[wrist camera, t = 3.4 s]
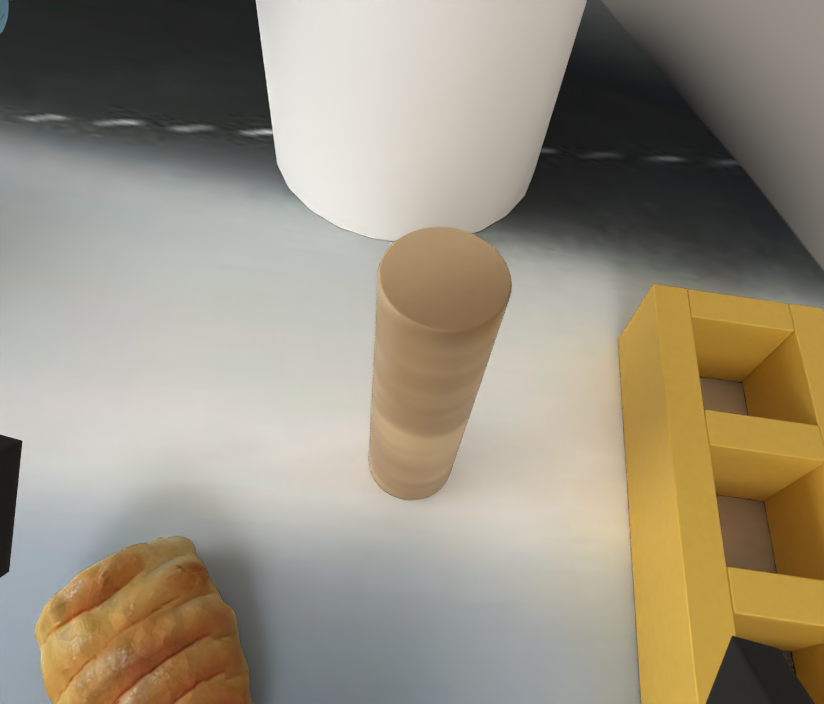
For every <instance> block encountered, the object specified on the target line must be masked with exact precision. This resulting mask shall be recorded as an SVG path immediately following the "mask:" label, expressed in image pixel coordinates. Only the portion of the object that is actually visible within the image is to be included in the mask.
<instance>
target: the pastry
mask: <svg viewBox="0 0 824 704" xmlns="http://www.w3.org/2000/svg"><path fill="white" fill-rule="evenodd" d="M35 637H36V639H37V641H38V643H39V647H40V652H41V661H40V665H41V671H42V675H43V681H44V684H45V689H46V693H47V695H48V696H49V698H50V699H51V701H52V702H53V704H252V699H251V695H250V672H249V668H248V665H247V661H246V658H245V655H244V653H243V651H242V648H241V644H240V640H239V635H238V620H237V616H236V614H235V612H234V611H233V609H232V608H231V607H230V606H228V605H227V604H226V603H225V602H224V601H223V600H222V599H221V597H220V594H219V592H218V590H217V588H216V586H215V585H214V584H213V582H212V581H211V580H210V578H209V576H208V572H207V570H206V568H205V566H204V564H203V563H202V562H201V561H200V560H199V558H198V557H197V555H196V550H195V546H194V544H193V542H192V541H190V540H189V539H187V538H185V537H181V536H174V537H168V538H162V537H161V538H157V539H154V540H151V541H150V542H148V543H140V544H136V545H132V546H129V547H126V548H125V549H123V550H121V551H119V552H117V553H115V554H113V555H111V556H109V557H107V558H105V559H103V560H101V561H99V562H97V563H96V564H94V565H92V566H90V567H89V568H87V569H85V570H83V571H81V572H80V573H79V574H78V575H77V576H75V577H74V578H73V579H72V580H71V582H70V583H69V584H68V585H67V586H66V587H65V588H63V589H61V590H59V591H58V592H57V593H56V594H55V595H54V596H53V597H52V598H51V599H50V600H49V602H48V603H47V604H46V606H45V607H44V609H43V610H42V612H41V615H40V618H39V620H38V621H37V624H36V625H35Z"/></svg>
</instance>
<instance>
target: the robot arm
mask: <svg viewBox="0 0 824 704" xmlns="http://www.w3.org/2000/svg"><path fill="white" fill-rule="evenodd" d="M7 18H8V0H0V34H1V33H2V31H3V29H4V27H5V25H6V22H7ZM21 449H22V441H21V440H17V439H14V438H10V437H7V436H3V435H0V577H2V576H3V575H5V574H6V573H7V572H9V567H10V557H11V547H12V537H13V527H14V517H15V508H16V498H17V488H18V478H19V468H20V458H21ZM706 704H815V703H814V701H813V700H812V698H811V697H810V696H809V694H808V693H807V691H806V690H805V688H804V687H803V685H802V684H801V682H800V681H799V679H798V678H797V676H796V675H795V674H794V672H793V671H792V669H791V668H790V666H789V665H788V663H787V662H786V660H785V659H784V657H783V656H782V654H781V653H780V652H779V650H778V649H777V648H775V647H772V646H768V645H764V644H761V643H757V642H753V641H750V640H746V639H743V638H739V637H735V636H732V637H731V640H730V642H729V645H728V647H727V650H726V652H725V655H724V658H723V660H722V663H721V665H720V668H719V670H718V673H717V676H716V678H715V681H714V683H713V686H712V688H711V691H710V694H709V696H708V699H707V701H706Z"/></svg>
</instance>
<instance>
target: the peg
mask: <svg viewBox="0 0 824 704" xmlns="http://www.w3.org/2000/svg"><path fill="white" fill-rule="evenodd" d="M511 287H512V283H511V276H510V272H509V269H508V267H507V264H506V262H505V261H504V259H503V257H502V256H501V255H500V254H499V252H498V251H497V250H496V249H495V248H494V247H493V246H492V245H490V244H489V243H488V242H486V241H485V240H483V239H482V238H480V237H478V236H476V235H474V234H472V233H469V232H467V231H464V230H460V229H455V228H449V227H429V228H423V229H419V230H415V231H413V232H410V233H408V234H406V235H404V236H402V237H400V238H399V239H398V240H396V241H395V242H394V243H393V244H392V245H391V246H390V247H389V248H388V249H387V250H386V252H385V253H384V255H383V257H382V259H381V261H380V264H379V268H378V281H377V301H376V322H375V342H374V362H373V382H372V403H371V423H370V443H369V467H370V471H371V474H372V476H373V478H374V480H375V481H376V483H377V484H378V485H379V486H380V487H381V488H382V489H383V490H384V491H385V492H387V493H389V494H390V495H392V496H394V497H397V498H400V499H405V500H418V499H423V498H426V497H429V496H431V495H433V494H434V493H436V492H437V491H438V490H439V489H441V488H442V487H443V485H444V484H445V483H446V481H447V479H448V477H449V475H450V472H451V469H452V466H453V463H454V460H455V458H456V455H457V452H458V449H459V446H460V443H461V440H462V437H463V434H464V431H465V428H466V425H467V422H468V419H469V416H470V413H471V410H472V407H473V404H474V402H475V399H476V396H477V393H478V390H479V387H480V384H481V381H482V378H483V375H484V372H485V369H486V366H487V363H488V360H489V357H490V354H491V351H492V348H493V346H494V343H495V340H496V337H497V334H498V331H499V328H500V325H501V322H502V319H503V316H504V313H505V310H506V307H507V304H508V301H509V298H510V294H511Z"/></svg>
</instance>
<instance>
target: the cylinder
mask: <svg viewBox="0 0 824 704" xmlns="http://www.w3.org/2000/svg"><path fill="white" fill-rule="evenodd" d="M586 1H587V0H256V6H257V14H258V21H259V29H260V37H261V44H262V52H263V60H264V67H265V75H266V82H267V90H268V98H269V105H270V113H271V121H272V128H273V136H274V144H275V151H276V159H277V165H278V167H279V169H280V171H281V173H282V175H283V177H284V179H285V181H286V183H287V185H288V188H289V189H290V190H291V191H292V192H293V193H294V194H295V195H296V196H297V197H298V198H299V199H300V200H301V201H302V202H303V203H304V204H305V205H306V206H307V207H308V208H309V209H310V210H311V211H313V212H315V213H316V214H318V215H320V216H321V217H323V218H324V219H326V220H328V221H329V222H331V223H333V224H334V225H336V226H338V227H340V228H343V229H346V230H349V231H352V232H355V233H358V234H361V235H364V236H367V237H370V238H373V239H380V240H388V241H396V240H398V239H399V238H400V237H402V236H404V235H406V234H408V233H410V232H413V231H415V230H419V229H423V228H429V227H449V228H455V229H460V230H464V231H467V232H469V233H475V232H478V231H481V230H483V229H485V228H486V227H488V226H490V225H491V224H493V223H495V222H496V221H498V220H500V219H501V218H503V217H505V216H507V215H508V213H509V212H510V211H511V210H512V209H513V208H514V207H515V206H516V205H517V204H518V202H519V201H520V200H521V199H522V198H523V197H524V196H525V194H526V191H527V189H528V186H529V184H530V181H531V179H532V176H533V174H534V170H535V167H536V164H537V161H538V157H539V154H540V151H541V148H542V144H543V141H544V138H545V135H546V131H547V128H548V125H549V122H550V118H551V115H552V112H553V109H554V105H555V102H556V99H557V96H558V92H559V89H560V86H561V83H562V79H563V76H564V73H565V70H566V66H567V63H568V60H569V57H570V53H571V50H572V47H573V44H574V40H575V37H576V34H577V31H578V27H579V24H580V21H581V18H582V14H583V11H584V8H585V5H586Z"/></svg>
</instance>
